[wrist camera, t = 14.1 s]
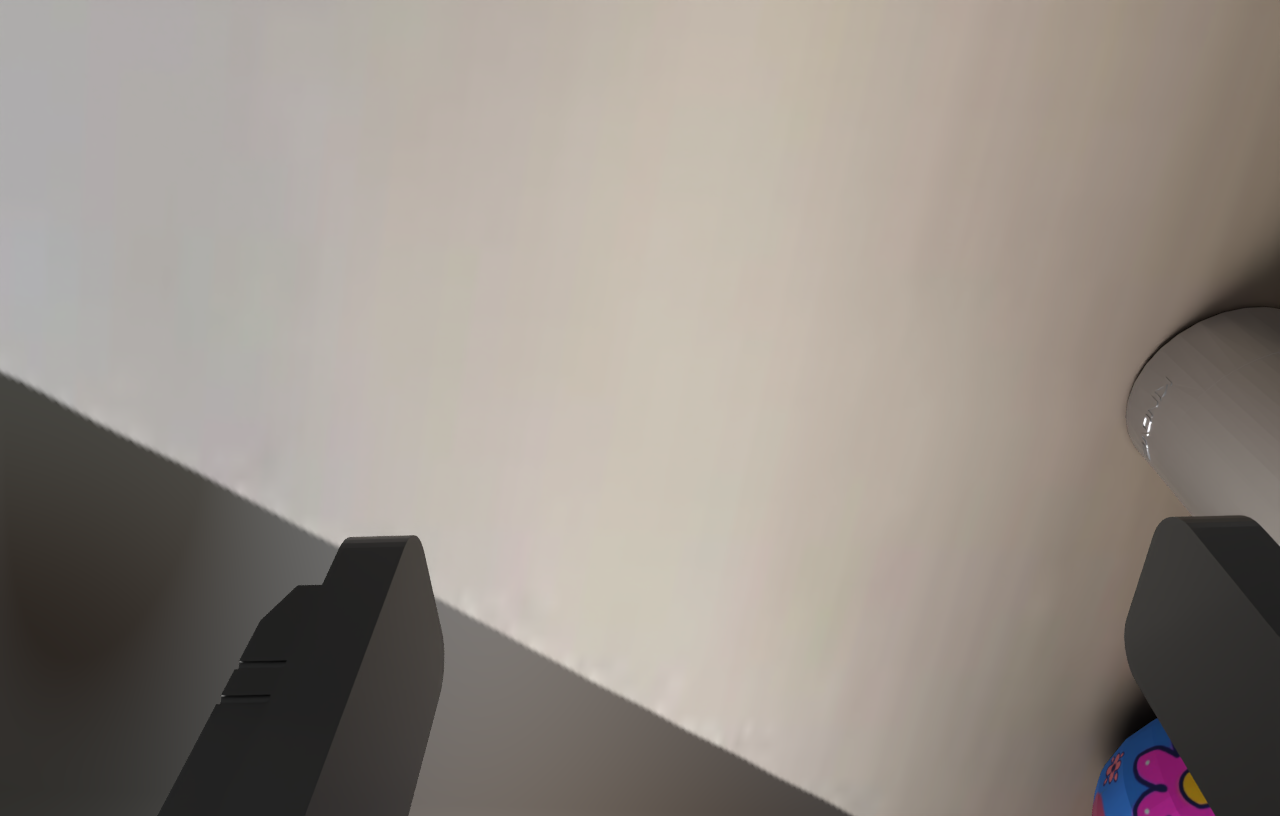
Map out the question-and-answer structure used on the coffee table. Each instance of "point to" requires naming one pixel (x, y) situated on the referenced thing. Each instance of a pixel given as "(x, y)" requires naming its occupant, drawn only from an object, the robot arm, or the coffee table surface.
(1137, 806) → the ceramic pot
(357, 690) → the robot arm
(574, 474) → the coffee table surface
